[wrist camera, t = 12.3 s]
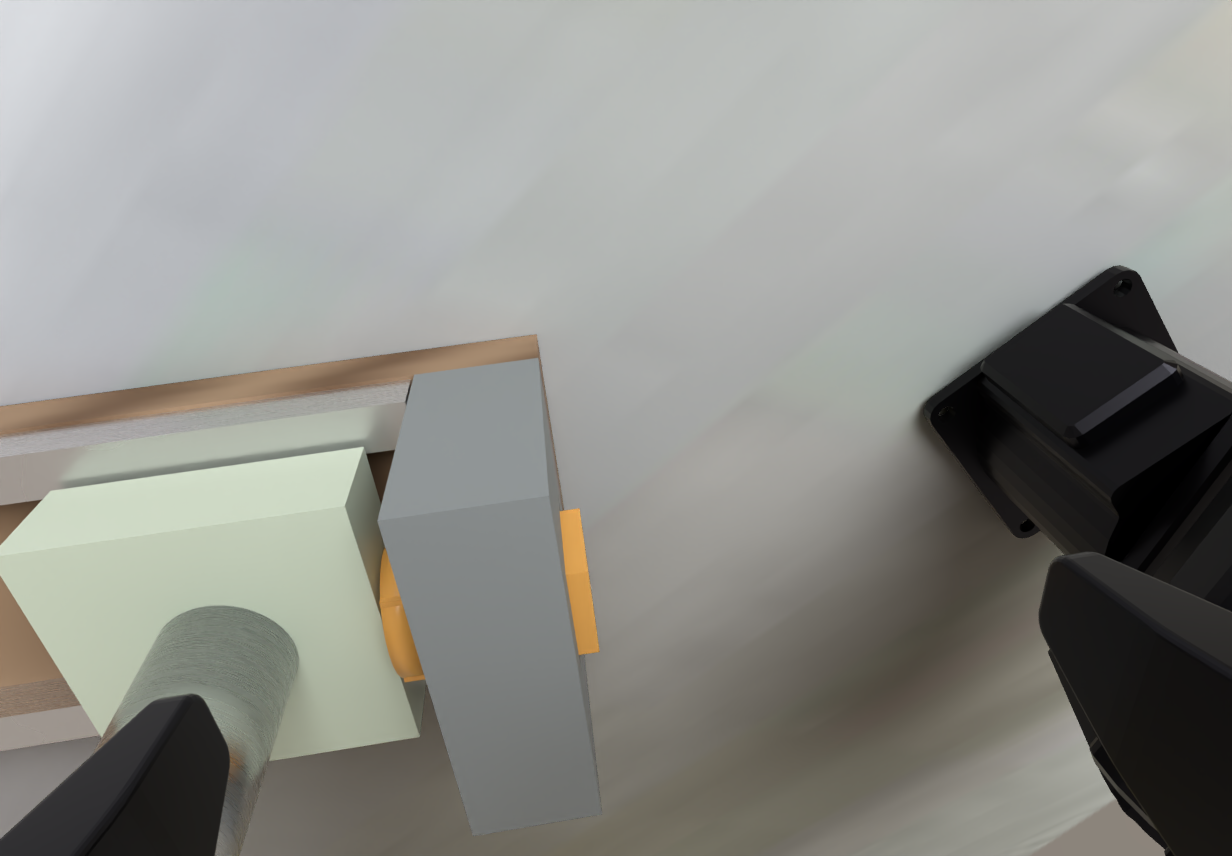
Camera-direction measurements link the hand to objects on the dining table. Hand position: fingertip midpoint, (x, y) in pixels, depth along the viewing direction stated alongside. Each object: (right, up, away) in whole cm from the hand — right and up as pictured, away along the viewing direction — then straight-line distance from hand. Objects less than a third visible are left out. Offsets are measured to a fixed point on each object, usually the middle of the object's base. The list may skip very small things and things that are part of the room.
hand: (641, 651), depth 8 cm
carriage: (-9, -2, +11) cm, 15 cm away
